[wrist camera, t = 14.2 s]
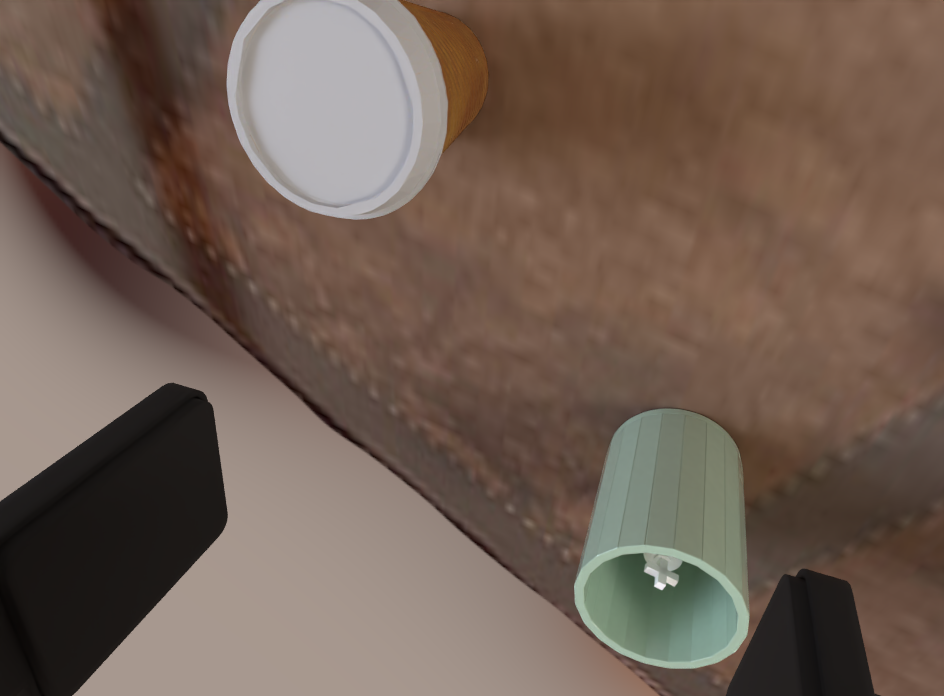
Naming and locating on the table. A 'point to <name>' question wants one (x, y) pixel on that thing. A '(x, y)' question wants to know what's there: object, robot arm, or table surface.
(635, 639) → the tube
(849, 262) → the table surface
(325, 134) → the disposable coffee cup
